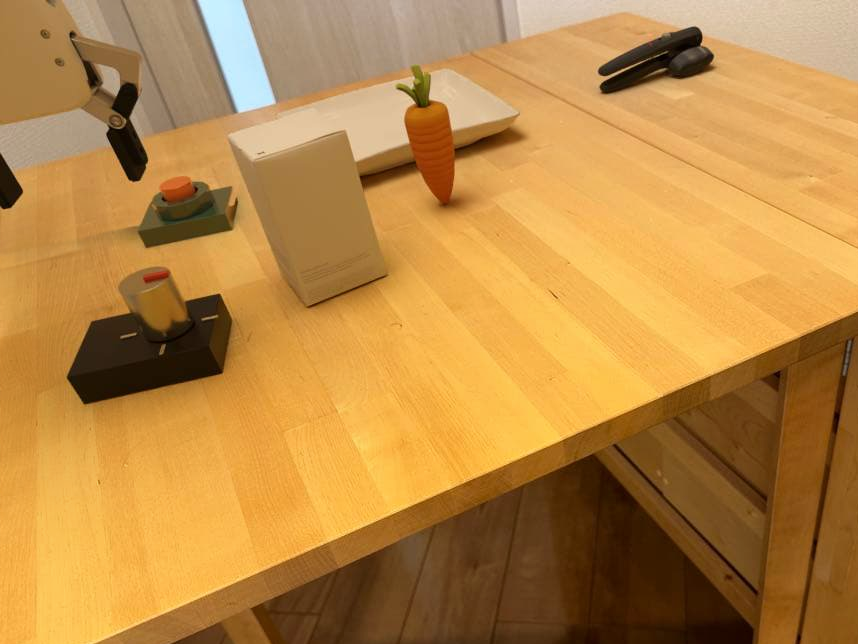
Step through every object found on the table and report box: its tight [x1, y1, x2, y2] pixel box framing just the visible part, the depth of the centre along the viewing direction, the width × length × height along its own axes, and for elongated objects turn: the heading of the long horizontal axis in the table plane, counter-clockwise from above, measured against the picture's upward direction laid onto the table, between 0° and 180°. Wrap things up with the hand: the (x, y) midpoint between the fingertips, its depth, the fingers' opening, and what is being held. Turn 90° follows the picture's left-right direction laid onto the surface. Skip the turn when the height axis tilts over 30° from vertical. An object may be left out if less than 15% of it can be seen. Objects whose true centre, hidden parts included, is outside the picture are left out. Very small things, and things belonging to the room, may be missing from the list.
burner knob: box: [117, 266, 194, 342], centre depth 67 cm, size 4×4×5 cm
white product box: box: [227, 108, 388, 307], centre depth 74 cm, size 9×9×15 cm
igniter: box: [137, 181, 239, 249], centre depth 91 cm, size 10×8×4 cm
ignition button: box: [158, 175, 196, 202], centre depth 89 cm, size 4×4×2 cm
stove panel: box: [66, 293, 233, 405], centre depth 69 cm, size 12×9×3 cm
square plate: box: [275, 68, 521, 177], centre depth 104 cm, size 27×27×4 cm
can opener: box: [597, 25, 715, 93], centre depth 109 cm, size 18×7×6 cm, turn 114°
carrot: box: [396, 64, 456, 205], centre depth 83 cm, size 5×5×15 cm
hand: (76, 188), depth 60 cm, fingers open, 9 cm apart
